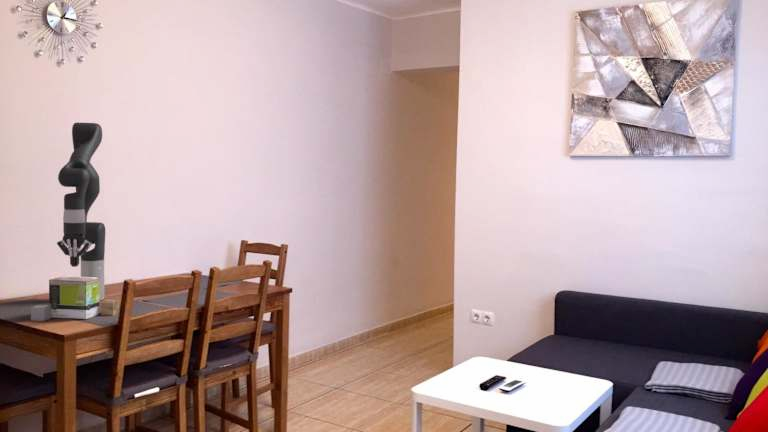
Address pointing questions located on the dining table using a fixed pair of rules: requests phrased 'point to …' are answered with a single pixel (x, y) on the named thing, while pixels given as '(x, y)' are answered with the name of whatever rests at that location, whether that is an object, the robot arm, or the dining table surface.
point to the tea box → (74, 297)
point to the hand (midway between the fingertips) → (74, 266)
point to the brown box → (109, 307)
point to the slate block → (41, 312)
